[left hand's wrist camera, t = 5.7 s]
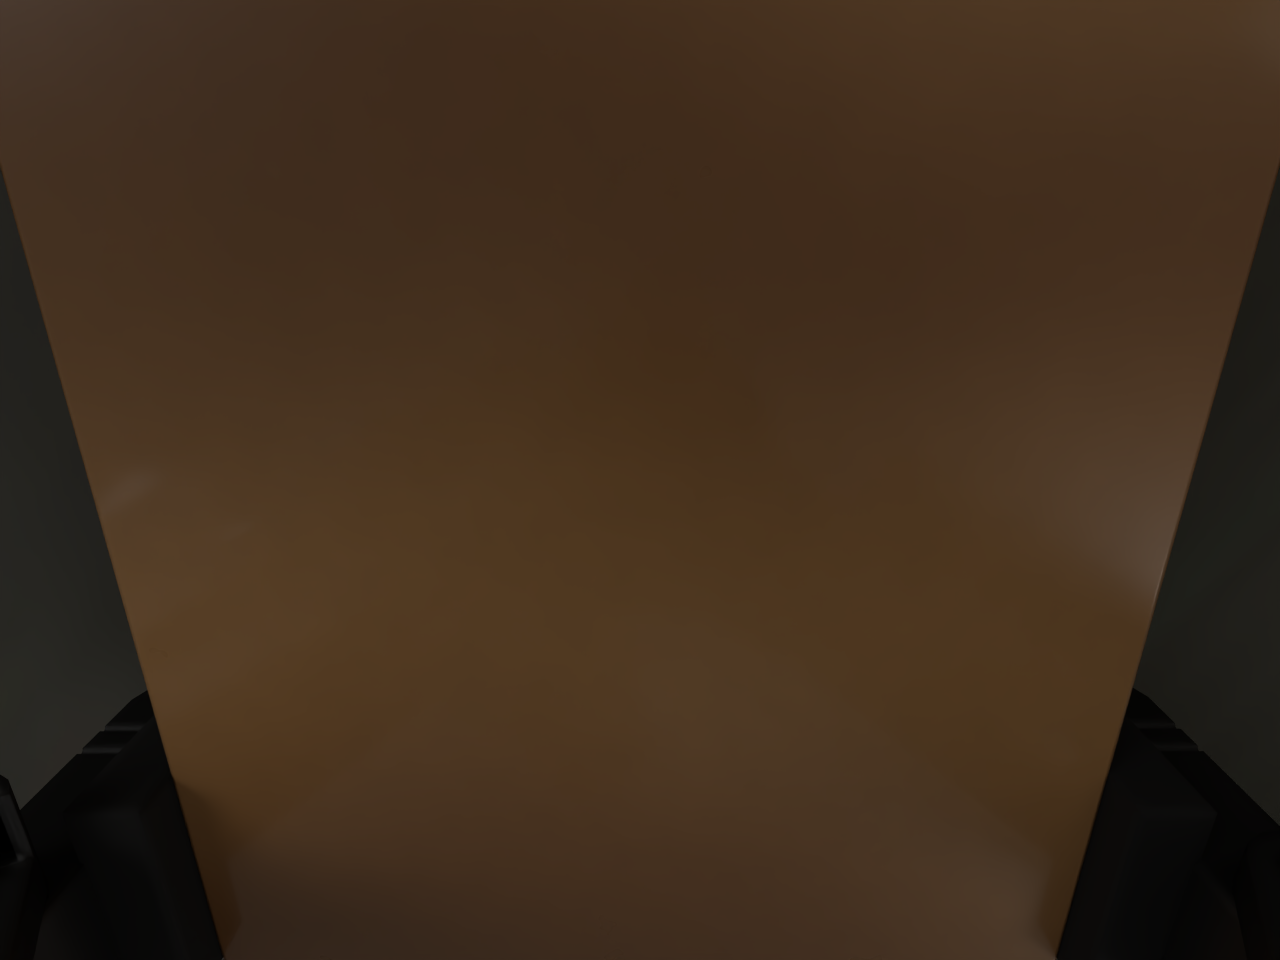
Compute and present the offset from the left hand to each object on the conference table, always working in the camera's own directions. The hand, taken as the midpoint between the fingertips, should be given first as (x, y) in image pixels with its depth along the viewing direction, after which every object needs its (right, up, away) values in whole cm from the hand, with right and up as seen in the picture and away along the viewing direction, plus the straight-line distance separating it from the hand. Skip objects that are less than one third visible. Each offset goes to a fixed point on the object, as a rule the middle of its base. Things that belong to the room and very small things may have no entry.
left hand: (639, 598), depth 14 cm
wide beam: (0, +32, -12) cm, 34 cm away
